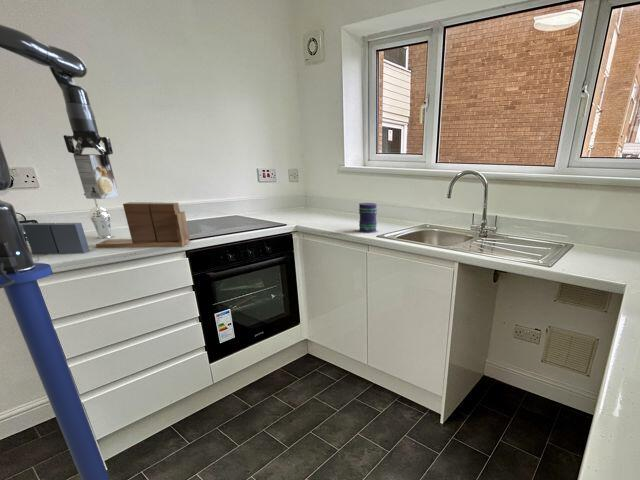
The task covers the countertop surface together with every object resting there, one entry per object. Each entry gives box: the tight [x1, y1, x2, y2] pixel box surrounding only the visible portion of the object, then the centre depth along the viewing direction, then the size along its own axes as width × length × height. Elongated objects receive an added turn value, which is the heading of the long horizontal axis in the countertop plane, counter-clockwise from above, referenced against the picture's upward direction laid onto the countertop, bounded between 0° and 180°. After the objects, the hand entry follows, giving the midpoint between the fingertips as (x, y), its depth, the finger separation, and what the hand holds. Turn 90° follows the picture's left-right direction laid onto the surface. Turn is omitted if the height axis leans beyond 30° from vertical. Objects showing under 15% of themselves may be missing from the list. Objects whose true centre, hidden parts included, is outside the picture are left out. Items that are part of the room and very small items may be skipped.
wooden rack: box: [95, 210, 190, 249], centre depth 150 cm, size 10×32×14 cm, turn 103°
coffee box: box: [72, 153, 120, 200], centre depth 136 cm, size 9×6×16 cm
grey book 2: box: [50, 222, 90, 254], centre depth 135 cm, size 4×8×11 cm, turn 103°
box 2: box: [149, 201, 181, 242], centre depth 151 cm, size 6×9×16 cm, turn 104°
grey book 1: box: [22, 222, 60, 255], centre depth 133 cm, size 4×8×11 cm, turn 103°
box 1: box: [122, 201, 157, 242], centre depth 149 cm, size 6×9×16 cm, turn 104°
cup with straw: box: [83, 193, 113, 239], centre depth 159 cm, size 8×9×20 cm
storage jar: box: [358, 202, 378, 233], centre depth 197 cm, size 10×10×15 cm
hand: (94, 165), depth 135 cm, fingers closed on coffee box, 7 cm apart
